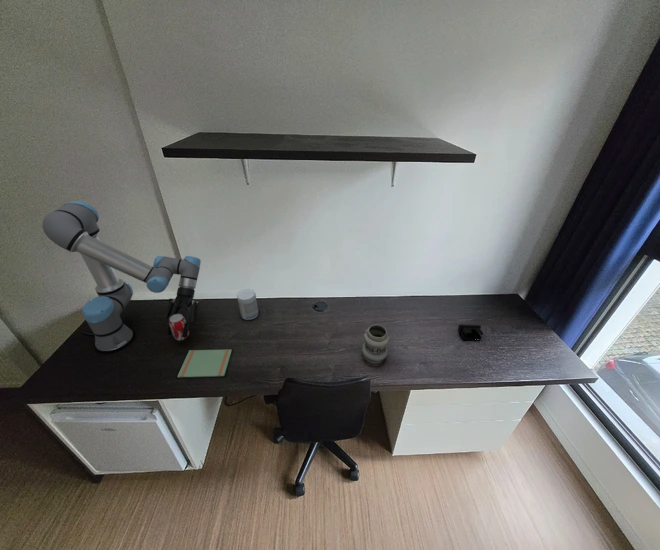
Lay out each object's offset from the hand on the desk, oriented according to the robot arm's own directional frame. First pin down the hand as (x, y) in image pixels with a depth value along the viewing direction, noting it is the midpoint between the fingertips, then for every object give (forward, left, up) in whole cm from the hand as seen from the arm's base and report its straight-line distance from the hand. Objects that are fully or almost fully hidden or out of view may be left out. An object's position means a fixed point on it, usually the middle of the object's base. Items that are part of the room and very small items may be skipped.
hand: (176, 336), depth 136 cm
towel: (+15, -10, -8) cm, 19 cm away
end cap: (+146, +4, -8) cm, 146 cm away
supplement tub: (+29, +23, -8) cm, 38 cm away
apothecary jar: (+93, -9, -8) cm, 94 cm away
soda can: (+1, +3, -4) cm, 5 cm away
